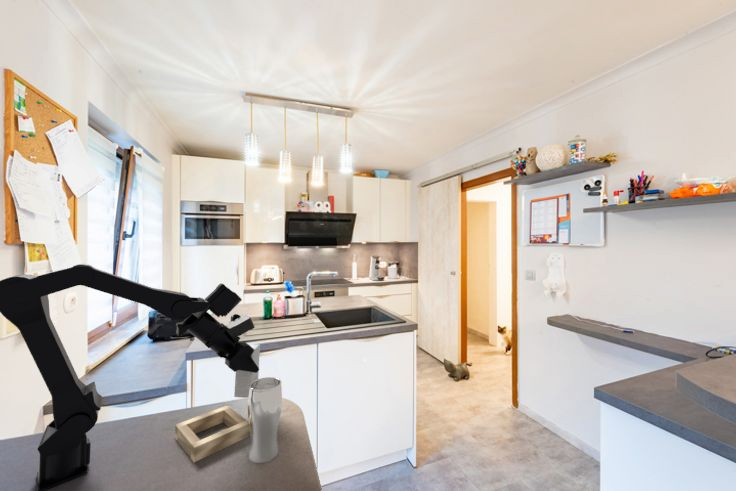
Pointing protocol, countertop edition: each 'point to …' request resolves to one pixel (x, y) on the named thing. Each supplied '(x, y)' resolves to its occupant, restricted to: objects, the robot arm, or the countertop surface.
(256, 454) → the beer glass
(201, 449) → the frame
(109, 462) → the countertop surface
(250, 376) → the skincare box
